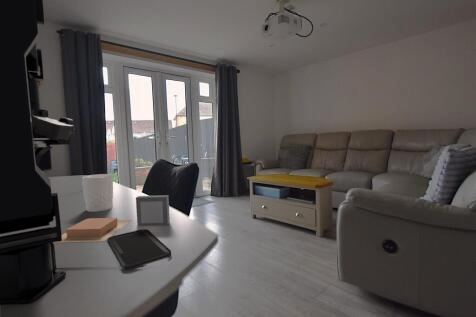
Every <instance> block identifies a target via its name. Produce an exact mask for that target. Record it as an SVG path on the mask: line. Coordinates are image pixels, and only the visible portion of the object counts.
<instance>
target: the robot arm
mask: <svg viewBox="0 0 476 317" xmlns="http://www.w3.org/2000/svg"><path fill="white" fill-rule="evenodd" d="M44 14H45V12H44V1H43V0H0V304H23V303H24V304H28V303H29V304H30V303H32V302H34V301H35V300H36V299H39V297H40V296H42V294H45V293H46V292H47V291H48V290H50V289H51V288H52V287H53V286H54V285H56V283H58V282H60V280H62V279H63V278H65V277H66V276H67V272H66V271H64V270H63V271H61V270H60V271H56V270H57V261H56V260H57V259H56V250H55V243H53V242H60V241H62V235H63V234H62V226H61V224H62V222H61V216H60V205H59V196H58V192H52V185H51V179H50V178H49V176H48V175H47V174H46V173H45V171H42V170H41V168H40V167H39V164H40V161H41V160H42V159H41V158H42V156H44V154H45V153H47V151H49V150H52V149H53V146H54V145H57V146H59V145H65V146H67V145H71V137H70V135H72V134H74V133H76V129H75V122H74V119H72V118H68V117H60V118H59V119H52V118H50V117H49V116H48V115H49V113H48V111H47V110H45V109H41V97H40V87H39V86H40V85H39V82H40V81H41V82H44V81H45V80H44V69H43V68H44V67H43V65H44V64H43V55H42V48H37V42H38V40H39V30H38V29H39V28H38V24H39V25H42V26H43V25H45V15H44ZM38 72H39V74H38ZM38 81H39V82H38ZM54 218H55V219H54ZM54 220H55V225H53V226H50V225H51V224H50V223H51V222H53V221H54ZM42 227H43V228H42ZM37 228H38V229H37ZM25 230H26V231H25ZM20 231H23V232H20ZM15 232H16V233H15ZM10 233H11V234H10ZM4 234H5V235H4Z"/></svg>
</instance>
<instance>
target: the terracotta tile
mask: <svg viewBox="0 0 476 317" xmlns="http://www.w3.org/2000/svg"><path fill="white" fill-rule="evenodd" d="M117 220H118V217H99V218H98V217H95V218H93V217H91V218H86V219H84V220H82V221H80V222H78V223H76V224H74V225H72V226H70V227H68V228H66V229H65V233H67V237H94V236H102V235H103V234H105V233H106V232H108V231H109V230H111V229H112V228H113V227H115V226H116V225H118V224H117Z"/></svg>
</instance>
